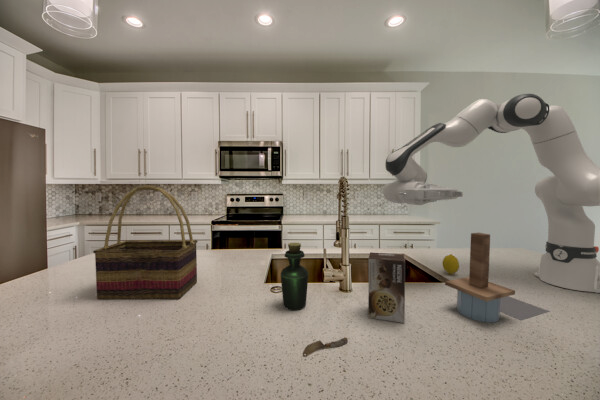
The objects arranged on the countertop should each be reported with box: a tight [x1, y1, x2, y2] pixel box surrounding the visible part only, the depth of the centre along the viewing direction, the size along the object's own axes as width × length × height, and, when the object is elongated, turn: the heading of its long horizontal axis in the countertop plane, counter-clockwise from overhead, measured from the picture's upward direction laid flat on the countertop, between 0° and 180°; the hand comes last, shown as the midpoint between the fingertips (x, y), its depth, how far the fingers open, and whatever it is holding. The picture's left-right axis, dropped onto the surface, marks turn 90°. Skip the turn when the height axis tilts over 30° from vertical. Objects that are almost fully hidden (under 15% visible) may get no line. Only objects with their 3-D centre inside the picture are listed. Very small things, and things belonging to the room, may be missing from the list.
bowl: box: [456, 289, 501, 323], centre depth 67 cm, size 9×9×7 cm
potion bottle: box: [280, 242, 309, 311], centre depth 72 cm, size 8×8×18 cm
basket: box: [92, 184, 198, 300], centre depth 82 cm, size 26×15×35 cm, turn 90°
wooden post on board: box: [444, 232, 516, 302], centre depth 67 cm, size 11×11×15 cm
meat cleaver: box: [302, 337, 349, 358], centre depth 54 cm, size 12×1×5 cm
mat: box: [500, 296, 551, 321], centre depth 72 cm, size 13×13×1 cm
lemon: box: [442, 254, 460, 275], centre depth 98 cm, size 6×6×8 cm
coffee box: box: [367, 252, 406, 324], centre depth 67 cm, size 9×6×16 cm
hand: (451, 194), depth 81 cm, fingers open, 8 cm apart
